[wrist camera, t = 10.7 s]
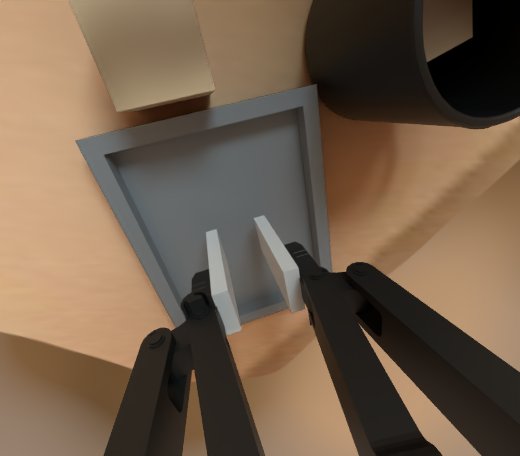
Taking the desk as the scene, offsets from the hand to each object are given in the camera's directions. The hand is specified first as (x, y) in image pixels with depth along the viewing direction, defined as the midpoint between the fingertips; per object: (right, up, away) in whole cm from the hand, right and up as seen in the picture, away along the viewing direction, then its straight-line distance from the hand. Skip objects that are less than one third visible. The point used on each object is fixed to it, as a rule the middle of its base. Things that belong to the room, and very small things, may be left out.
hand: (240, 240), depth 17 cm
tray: (-1, +1, +2) cm, 2 cm away
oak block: (-4, +10, -3) cm, 12 cm away
